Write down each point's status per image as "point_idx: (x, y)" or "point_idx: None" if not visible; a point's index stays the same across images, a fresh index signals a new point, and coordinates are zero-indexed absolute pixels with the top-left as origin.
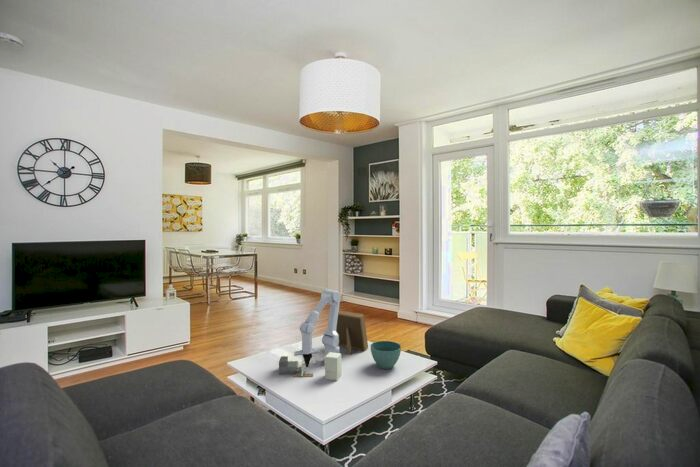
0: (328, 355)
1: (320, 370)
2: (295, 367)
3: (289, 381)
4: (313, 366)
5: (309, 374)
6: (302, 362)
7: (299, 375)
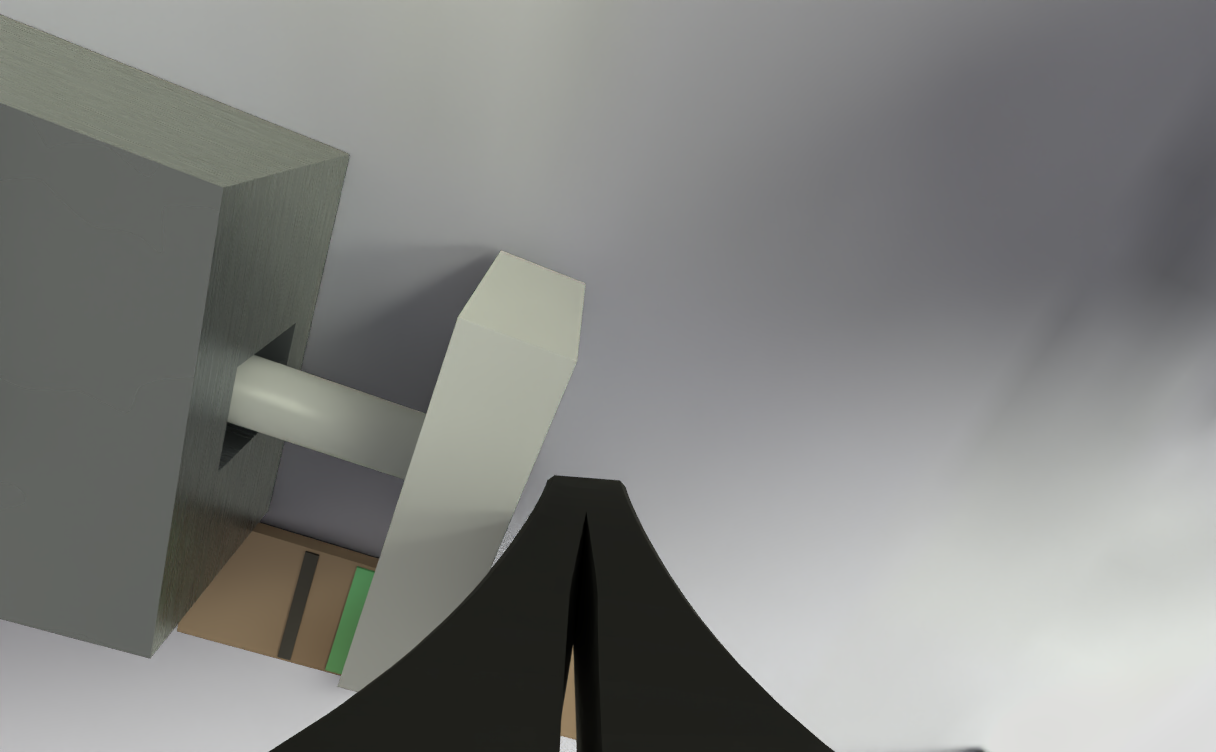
0: None
1: (905, 553)
2: (148, 636)
3: (119, 744)
4: (871, 251)
5: (572, 669)
6: (439, 410)
7: (338, 642)
